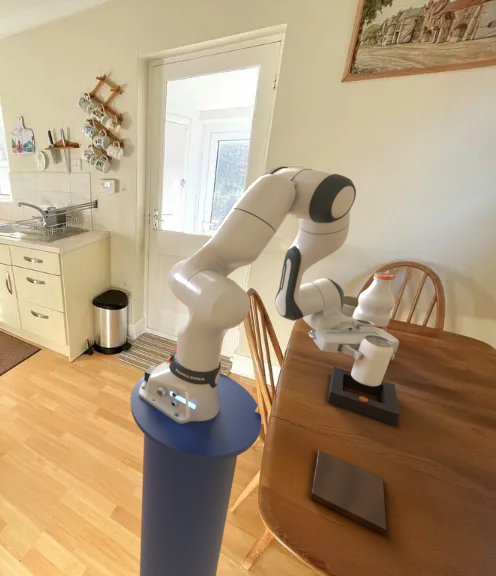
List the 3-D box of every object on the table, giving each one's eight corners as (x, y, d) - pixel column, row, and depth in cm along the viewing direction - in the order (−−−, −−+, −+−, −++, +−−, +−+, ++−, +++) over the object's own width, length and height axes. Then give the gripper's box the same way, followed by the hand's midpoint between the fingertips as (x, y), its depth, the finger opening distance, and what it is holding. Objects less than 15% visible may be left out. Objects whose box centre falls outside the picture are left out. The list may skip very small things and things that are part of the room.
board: (310, 498, 60) (312, 493, 60) (317, 455, 69) (318, 450, 69) (383, 535, 54) (386, 529, 54) (380, 482, 63) (382, 477, 63)
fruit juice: (358, 342, 113) (382, 268, 103) (384, 357, 104) (413, 278, 94) (336, 345, 111) (358, 271, 101) (361, 360, 102) (387, 280, 92)
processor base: (327, 402, 85) (330, 390, 83) (331, 376, 95) (334, 365, 94) (394, 425, 77) (400, 413, 75) (390, 394, 87) (395, 382, 86)
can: (350, 381, 83) (363, 342, 78) (350, 369, 88) (362, 331, 83) (381, 390, 79) (397, 350, 75) (379, 377, 84) (393, 338, 80)
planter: (367, 325, 125) (375, 300, 121) (366, 337, 116) (375, 311, 112) (330, 316, 132) (337, 293, 128) (327, 328, 123) (334, 302, 119)
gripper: (307, 321, 92) (338, 346, 79) (377, 321, 92) (420, 347, 79) (302, 340, 94) (332, 367, 81) (370, 340, 94) (411, 367, 81)
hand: (376, 357), depth 80 cm, fingers closed on can, 6 cm apart
